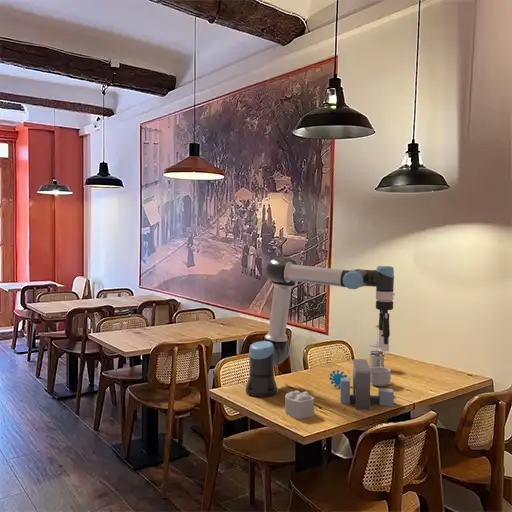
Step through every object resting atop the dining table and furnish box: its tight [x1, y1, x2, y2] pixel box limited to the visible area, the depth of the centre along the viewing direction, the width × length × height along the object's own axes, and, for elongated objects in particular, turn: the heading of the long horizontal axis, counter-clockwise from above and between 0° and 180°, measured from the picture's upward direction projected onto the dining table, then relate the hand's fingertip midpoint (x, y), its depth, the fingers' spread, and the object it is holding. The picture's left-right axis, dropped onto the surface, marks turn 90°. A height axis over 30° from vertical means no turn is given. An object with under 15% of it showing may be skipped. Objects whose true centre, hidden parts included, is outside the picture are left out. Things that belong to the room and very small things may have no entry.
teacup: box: [370, 366, 392, 388], centre depth 250 cm, size 14×11×8 cm
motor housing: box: [352, 358, 371, 411], centre depth 222 cm, size 6×20×17 cm, turn 172°
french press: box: [369, 324, 386, 368], centre depth 279 cm, size 10×12×25 cm
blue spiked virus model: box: [328, 369, 352, 390], centre depth 247 cm, size 11×6×10 cm
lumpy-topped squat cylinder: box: [284, 390, 315, 420], centre depth 208 cm, size 10×13×9 cm
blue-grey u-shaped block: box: [339, 377, 397, 407], centre depth 221 cm, size 24×5×10 cm, turn 83°
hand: (383, 347), depth 221 cm, fingers open, 13 cm apart
